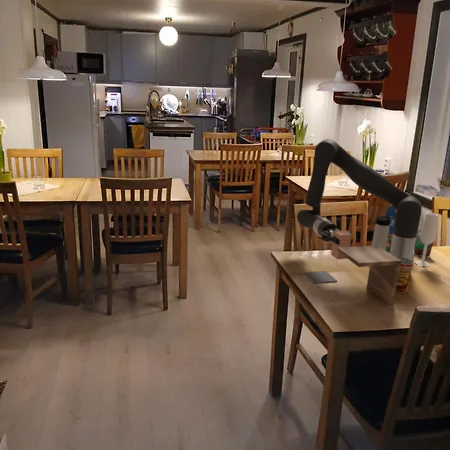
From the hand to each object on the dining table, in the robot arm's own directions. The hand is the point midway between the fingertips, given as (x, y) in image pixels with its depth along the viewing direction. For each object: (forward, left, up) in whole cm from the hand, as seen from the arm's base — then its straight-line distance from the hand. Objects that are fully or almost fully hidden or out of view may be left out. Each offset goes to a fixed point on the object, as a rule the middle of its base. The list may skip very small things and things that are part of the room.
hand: (345, 242), depth 177 cm
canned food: (-22, +7, -18) cm, 29 cm away
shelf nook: (-3, +12, -18) cm, 22 cm away
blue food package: (-46, -30, -18) cm, 58 cm away
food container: (-58, -27, -18) cm, 66 cm away
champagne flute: (-50, -14, -18) cm, 55 cm away
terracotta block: (0, -3, -7) cm, 8 cm away
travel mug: (-33, -24, -18) cm, 44 cm away
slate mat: (+5, -7, -18) cm, 20 cm away
